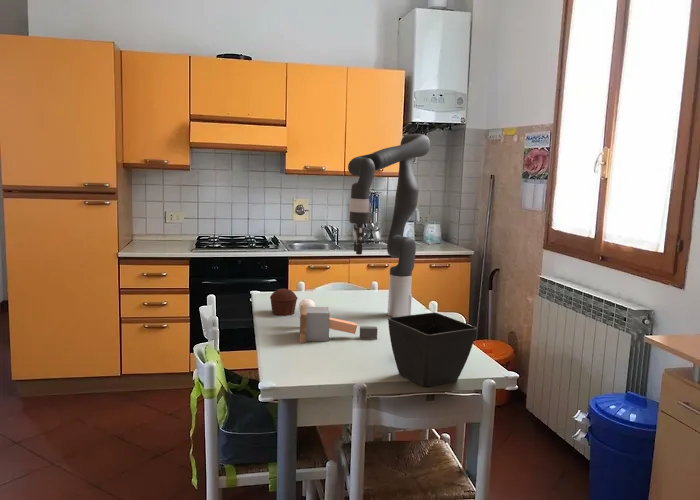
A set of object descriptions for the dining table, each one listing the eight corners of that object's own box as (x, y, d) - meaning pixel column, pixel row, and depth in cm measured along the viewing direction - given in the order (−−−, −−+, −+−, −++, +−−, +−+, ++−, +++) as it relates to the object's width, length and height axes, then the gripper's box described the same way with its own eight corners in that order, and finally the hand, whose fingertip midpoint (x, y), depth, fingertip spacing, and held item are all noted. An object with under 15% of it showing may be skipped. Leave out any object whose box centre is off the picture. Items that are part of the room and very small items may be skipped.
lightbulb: (311, 330, 219) (312, 301, 217) (296, 328, 220) (296, 299, 219) (316, 326, 225) (317, 297, 223) (300, 324, 226) (301, 296, 225)
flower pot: (474, 383, 171) (479, 326, 169) (424, 394, 161) (428, 334, 158) (431, 363, 187) (435, 311, 184) (383, 372, 176) (386, 318, 174)
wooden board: (305, 331, 217) (305, 305, 215) (305, 342, 203) (306, 314, 201) (299, 331, 216) (300, 305, 215) (299, 342, 203) (300, 314, 201)
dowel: (354, 331, 213) (356, 323, 212) (355, 334, 210) (357, 325, 209) (310, 322, 211) (313, 313, 210) (311, 324, 208) (313, 315, 207)
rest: (375, 337, 214) (376, 326, 213) (377, 339, 211) (377, 328, 210) (359, 336, 213) (359, 326, 212) (360, 339, 210) (360, 328, 210)
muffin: (264, 311, 244) (264, 288, 242) (287, 308, 250) (288, 285, 249) (279, 318, 234) (279, 293, 233) (302, 315, 241) (303, 291, 240)
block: (327, 333, 215) (328, 307, 214) (328, 341, 206) (329, 313, 205) (305, 333, 214) (306, 306, 213) (305, 340, 205) (306, 312, 204)
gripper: (371, 212, 218) (369, 255, 220) (367, 209, 232) (365, 250, 234) (351, 211, 217) (349, 255, 219) (348, 209, 231) (346, 250, 233)
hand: (357, 252), depth 226 cm, fingers open, 8 cm apart
